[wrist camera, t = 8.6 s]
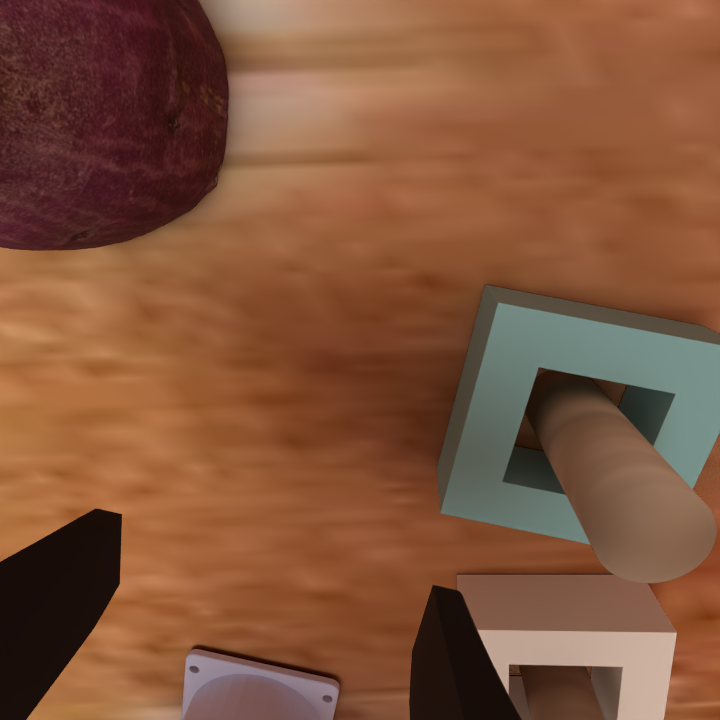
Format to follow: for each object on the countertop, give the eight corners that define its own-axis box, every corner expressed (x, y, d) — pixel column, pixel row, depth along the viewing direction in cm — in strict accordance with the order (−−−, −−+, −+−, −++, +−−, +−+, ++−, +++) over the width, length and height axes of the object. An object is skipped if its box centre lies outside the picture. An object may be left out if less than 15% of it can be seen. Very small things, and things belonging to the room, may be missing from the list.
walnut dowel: (565, 669, 24) (611, 818, 18) (507, 657, 24) (536, 801, 18) (583, 626, 23) (639, 769, 17) (523, 613, 23) (559, 751, 18)
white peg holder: (627, 706, 24) (655, 774, 22) (460, 701, 25) (467, 765, 23) (642, 574, 22) (676, 632, 19) (456, 574, 23) (462, 629, 20)
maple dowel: (583, 440, 20) (687, 594, 12) (514, 424, 20) (576, 569, 13) (609, 376, 19) (737, 502, 11) (536, 360, 19) (617, 475, 12)
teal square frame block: (625, 508, 21) (659, 558, 18) (436, 469, 21) (440, 513, 18) (703, 326, 18) (757, 352, 15) (484, 284, 18) (498, 302, 15)
